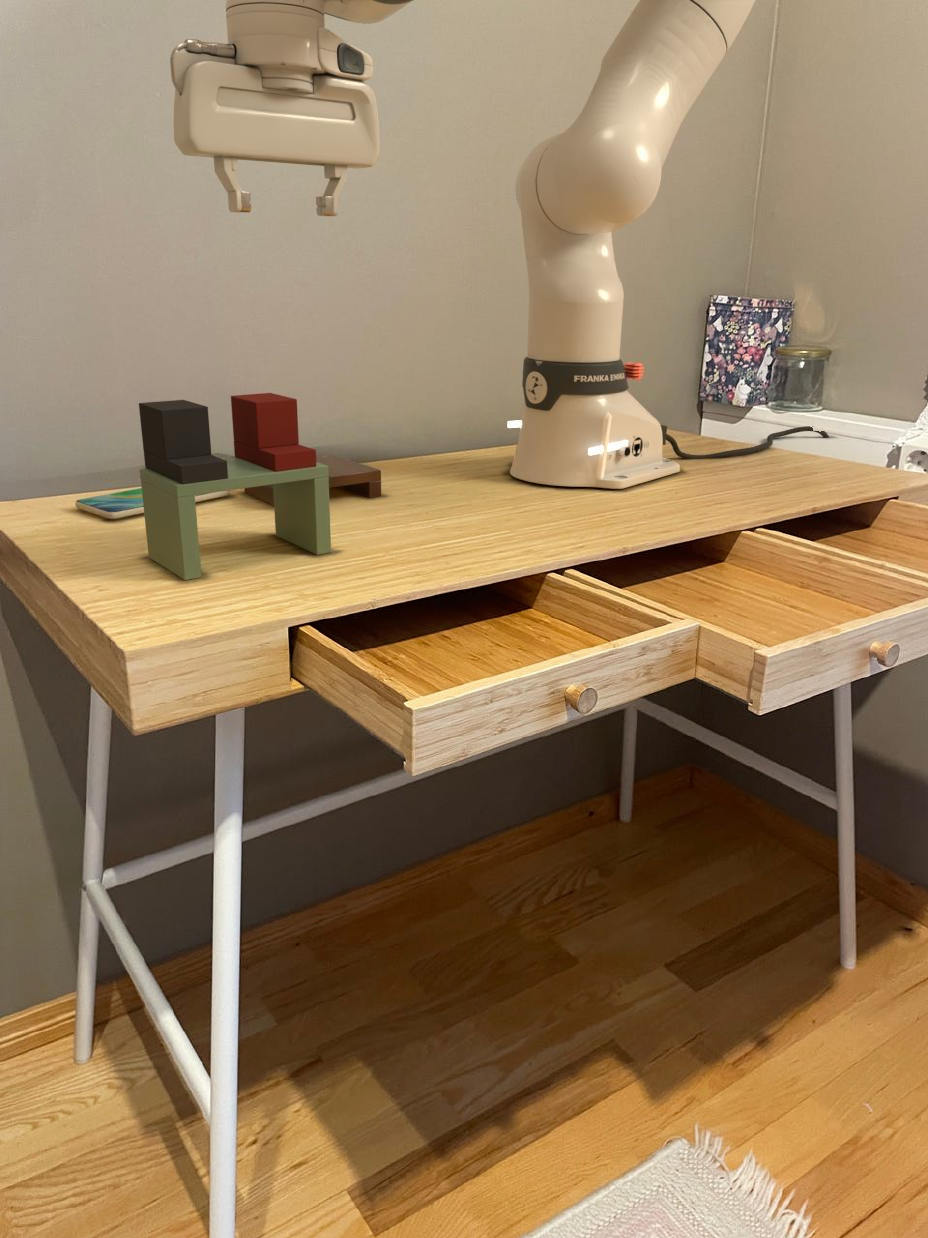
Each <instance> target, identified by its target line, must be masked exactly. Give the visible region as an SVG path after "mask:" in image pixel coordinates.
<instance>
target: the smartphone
mask: <svg viewBox="0 0 928 1238" xmlns="http://www.w3.org/2000/svg"><path fill="white" fill-rule="evenodd" d="M229 493H230V490H228V491H221V492H213V493H206V494H199V495H195V503H200V502H203V501H209V500H213V499H218V498H223V497H227V496H228V495H229ZM74 504H75V507H76V508H77V509H78V510H81V511H84V512H86V513H87V512H88V513H91V514H94V515H97V516H100V517H103V518H106V519H108V520H109V519H110V520H118V519H121V518H127V517H131V516H137V515H141V514H144V506H143V497H142V487H139V488H135V489H134V488H133V489H129V490H124V491H123V490H122V491H117V492H113V493H108V494H103V495H97V496H91V497H86V498H80V499H77V500H75V502H74Z"/></svg>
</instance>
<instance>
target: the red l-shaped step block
mask: <svg viewBox="0 0 928 1238" xmlns="http://www.w3.org/2000/svg"><path fill="white" fill-rule="evenodd" d="M230 404H231V405H230V407H231V419H232V420H231V421H232V434H233V435H232V436H233V451H234V457H237V458H240V459H242V460H245V461H248V462H251V463H253V464H256V465H259V466H261V467H264V468H267V469H270V470H272V471H275V472H278V471H286V470H294V469H301V468H309V467H316V458H317V450H316V449H315V448H311V447H308V446H305V445H302V444H300V441H299V440H300V439H299V437H300V436H299V416H298V400H297V398H293V397H289V396H286V395H281V394H277V393H273V392H262V393H261V392H260V393H250V394H249V393H248V394H237V395H230Z"/></svg>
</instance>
